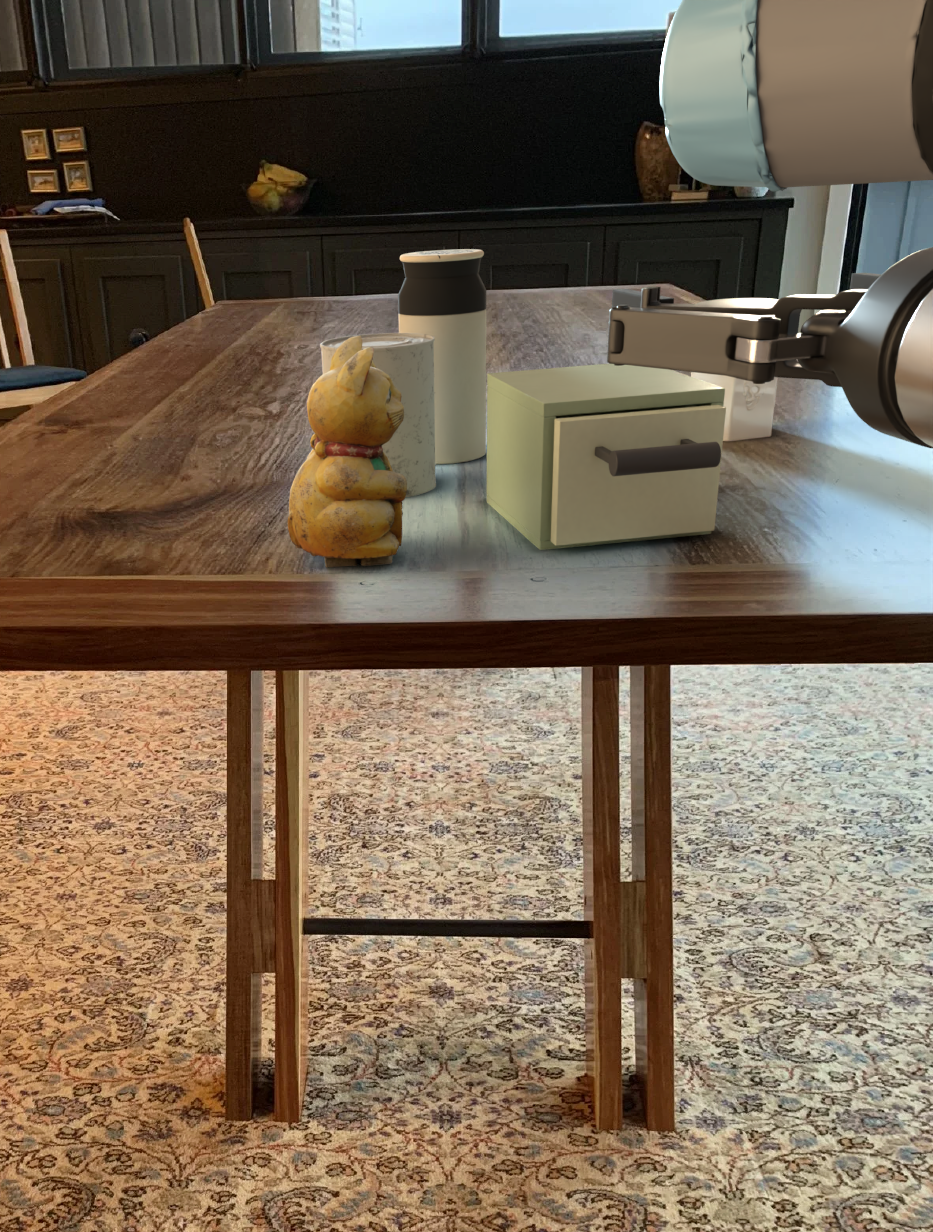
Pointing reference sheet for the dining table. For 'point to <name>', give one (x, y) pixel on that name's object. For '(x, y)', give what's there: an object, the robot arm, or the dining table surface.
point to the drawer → (636, 473)
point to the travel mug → (451, 344)
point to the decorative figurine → (350, 465)
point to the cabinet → (527, 429)
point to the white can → (405, 401)
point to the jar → (744, 392)
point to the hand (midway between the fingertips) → (737, 307)
